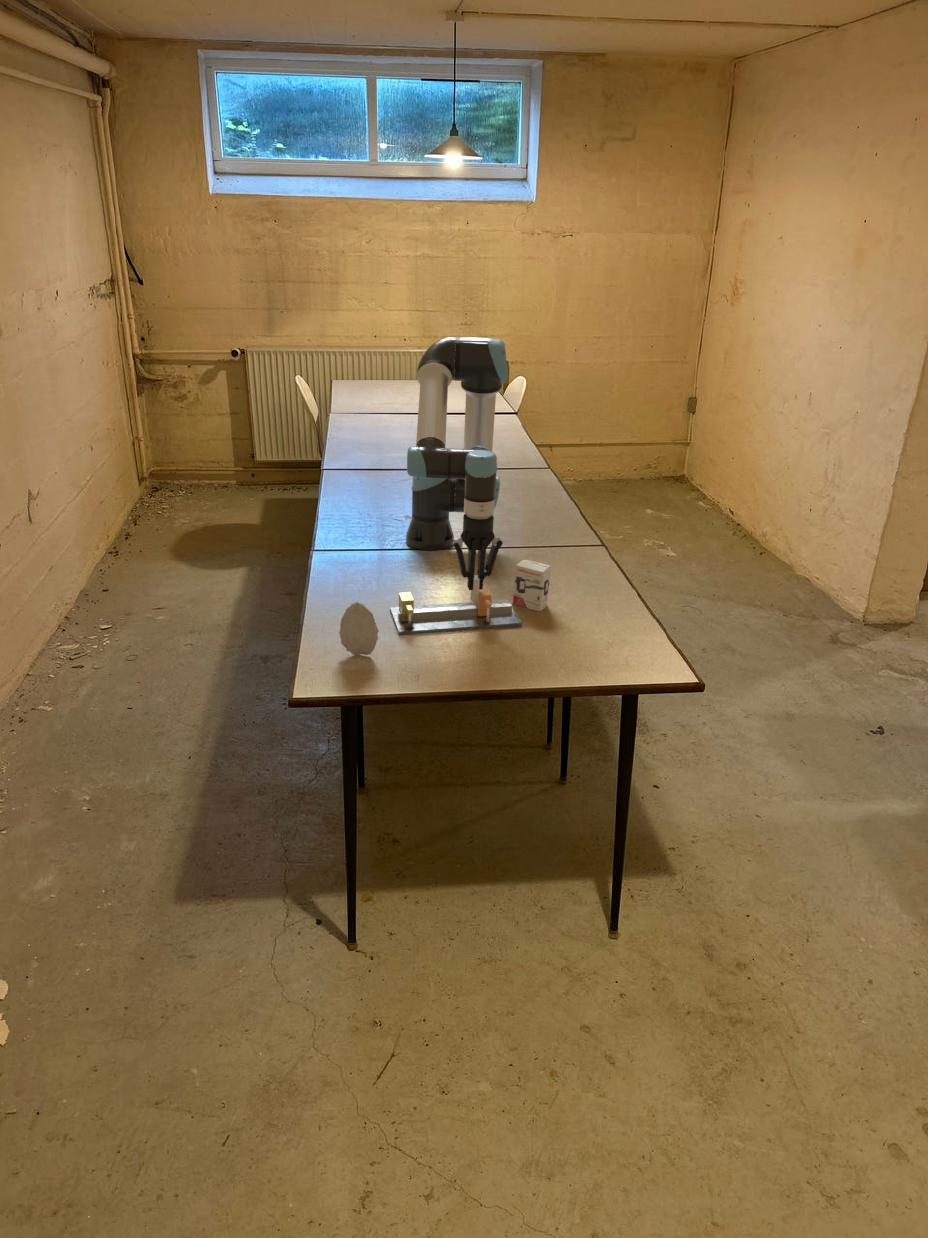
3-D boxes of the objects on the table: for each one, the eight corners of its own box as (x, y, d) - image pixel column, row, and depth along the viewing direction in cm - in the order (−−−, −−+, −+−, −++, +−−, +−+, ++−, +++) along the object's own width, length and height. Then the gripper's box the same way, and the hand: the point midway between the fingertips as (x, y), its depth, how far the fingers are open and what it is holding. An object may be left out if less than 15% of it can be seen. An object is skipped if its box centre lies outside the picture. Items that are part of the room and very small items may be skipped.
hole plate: (390, 610, 224) (390, 607, 223) (506, 603, 231) (507, 599, 230) (399, 635, 212) (399, 631, 211) (521, 626, 219) (521, 622, 218)
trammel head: (474, 608, 224) (475, 587, 221) (485, 607, 225) (486, 587, 222) (482, 623, 217) (483, 602, 214) (493, 622, 217) (495, 601, 215)
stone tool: (379, 653, 203) (378, 596, 196) (378, 659, 200) (378, 602, 194) (340, 653, 203) (338, 596, 196) (339, 659, 200) (337, 602, 193)
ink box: (512, 604, 230) (514, 564, 225) (520, 597, 234) (523, 558, 229) (540, 612, 227) (544, 571, 221) (548, 605, 231) (551, 565, 225)
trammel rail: (396, 614, 220) (396, 592, 217) (508, 607, 226) (509, 585, 224) (402, 630, 212) (402, 607, 209) (517, 621, 219) (519, 599, 216)
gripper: (456, 520, 205) (453, 608, 216) (508, 518, 208) (502, 605, 218) (449, 510, 211) (446, 595, 222) (500, 508, 214) (494, 592, 225)
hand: (474, 600), depth 220 cm, fingers closed
